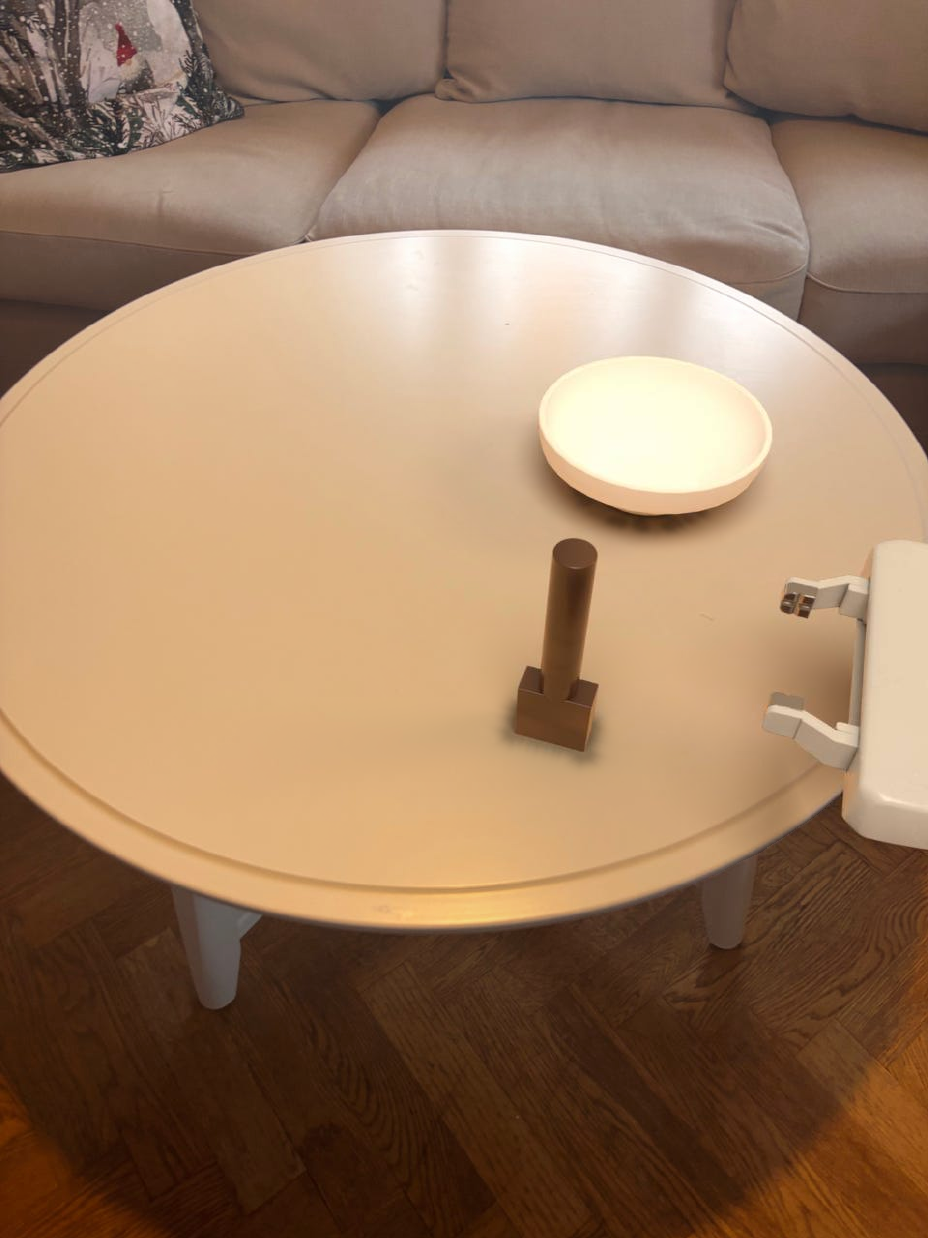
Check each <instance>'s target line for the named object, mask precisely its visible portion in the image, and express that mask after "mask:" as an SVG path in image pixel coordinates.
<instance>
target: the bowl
mask: <svg viewBox="0 0 928 1238" xmlns="http://www.w3.org/2000/svg"><path fill="white" fill-rule="evenodd" d="M537 413H538V415H537V416H538V417H537V418H538V424H537V425H538V435H539V440H540V444H541V449H542V451H543V454H544V456H545V459H546V461H547V463H548V464H549V466H550V467H551V468H552V469H553V471H554V473H556V475H557V476H558V477H559V478H561V479H562V480H563V481H564V482H565V483H566V484H568V485H569V486H570V487H571V488H573V489H575V490H576V491H577V492H580V493H581V494H582V495H585V496H586V497H587V498H591V499H593V500H596V501H597V502H600V503H603V504H604V505H607V506H611V507H613V508H615V509H618V510H620V511H622V512H625V513H629V514H633V515H640V516H662V515H681V514H688V513H697V512H702V511H705V510H709V509H712V508H716V507H718V506H719V507H720V505H723V504H726V503H727V502H729V501H731V500H733V499H735V498H736V497H738V496H739V495H741V494H742V493H743V492H744V491H745V490H747V489H748V488H749V487H750V485H751V484H752V482H753V481H754V480H755V479H756V477H757V476H758V474H759V473H760V471H761V470H762V469H763V468H764V466H765V463H766V460H767V458H768V455H769V452H770V449H771V446H772V443H773V425H772V423H771V420H770V417H769V415H768V412H767V411H766V410H765V408H764V407H763V405H762V404H761V402H760V401H759V399H757V398H756V397H755V396H754V395H753V394H752V393H751V392H750V391H749V390H748V389H747V388H745V387H744V386H742V385H741V384H739V383H737V382H736V381H735V380H733V379H732V378H730V377H728V376H726V375H724V374H722V373H720V372H717V371H716V370H713V369H711V368H709V367H705V366H702V365H699V364H697V363H693V362H689V361H685V360H679V359H675V358H669V357H660V356H653V355H652V356H651V355H627V356H618V357H616V356H615V357H609V358H605V359H600V360H595V361H591V362H589V363H586V364H584V365H580V366H578V367H575V368H574V369H572V370H570V371H569V372H566V373H565V374H563V375H562V376H560V377H559V378H557V380H555V381H554V382H553V383H552V384H551V385H549V386H548V388H547V390H546V391H545V393H544V395H543V396H542V397H541V400H540V404H539V408H538V412H537Z"/></svg>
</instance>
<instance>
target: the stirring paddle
mask: <svg viewBox="0 0 928 1238" xmlns="http://www.w3.org/2000/svg"><path fill="white" fill-rule="evenodd" d="M598 558H599V555H598V550H597V548H596V546H594V544H593V543H591V542H589V541H588V540H585V539H582V538H579V537H569V538H563V539H561V540H560V541H558V542H557V543H555V545H554V546H553V548H552V552H551V563H550V571H549V582H548V592H547V602H546V611H545V620H544V630H543V640H542V649H541V650H542V651H541V662H540V667H539V668H538V667H535V666H531V665H526V667H525V669H524V671H523V674H522V677H521V680H520V682H519V685H518V687H517V693H516V694H517V695H516V696H517V697H516V706H515V707H516V709H515V720H514V721H515V722H514V734H516V735H519V736H522V737H527V738H530V739H534V740H537V741H541V742H544V743H549V744H552V745H555V746H560V747H563V748H566V749H570V750H574V751H577V752H581V753H585V751H586V747H587V745H588V741H589V737H590V735H591V731H592V727H593V720H594V715H595V709H596V704H597V698H598V692H599V687H600V685H599V683H597V682H593V681H589V680H585V679H581V672H582V666H583V665H582V664H583V658H584V652H585V646H586V638H587V632H588V626H589V625H588V624H589V619H590V611H591V604H592V598H593V591H594V585H595V578H596V570H597V564H598Z"/></svg>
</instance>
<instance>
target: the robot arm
mask: <svg viewBox="0 0 928 1238" xmlns="http://www.w3.org/2000/svg"><path fill="white" fill-rule="evenodd" d="M832 608H834V609H835V608H838V610H837V611H838V615H841V616H844V617H847V618H848V617H849V618H853V619H855V628H854V642H853V654H852V655H853V656H852V668H851V681H850V682H851V683H850V697H849V708H848V722H847V723H845V722H842V721H838V722H836V724H835V726H834V728H833V727H832V726H830V725H829V724H827V723H825V722H824V721H822V720H821V719H820V718H818V717H817V716H814V715H813V714H811V713H810V712H809V711H806V710H805V709H804V701H805V698H804V697H800V696H795V695H786V694H784V693H783V692H780V691H776V692H775V691H774V692H771V693H769V695H768V696H767V699H766V702H765V704H764V709H763V713H762V720H761V729H762V730H763V731H764V732H766V733H769V734H774V735H777V736H780V737H785V738H789V739H792V740H793V742H794V743H795V744H797V745H798V746H799V747H800V748H802V749H803V750H804V751H806V752H807V753H808V754H809V755H811V756H812V757H813V758H814V759H815V760H816V761H818V762H819V763H820V764H822V765H823V766H827V767H831V768H833V769H837V770H842V771H844V774H843V787H842V789H843V790H842V803H841V818H842V820H843V821H844V822H845V823H846V824H847V825H848V826H849V827H850V828H851V829H852V830H854V831H855V832H856V833H857V834H858V835H860V836H861V837H863V838H867V839H869V840H874V841H878V842H882V843H887V844H891V845H897V846H902V847H909V848H914V849H920V850H927V851H928V543H926V542H922V541H916V540H909V539H904V538H903V539H902V538H894V539H889V540H885V541H881V542H878V543H876V544H874V545H873V546H872V547H871V550H870V552H869V554H868V556H867V558H866V560H865V563H864V565H863V568H862V571H861V573H860V576H857V575H854V574H845V575H840V576H835V577H830V578H824V579H820V580H817V581H815V580H811V579H806V578H802V577H797V576H790V577H788V578H786V580H785V582H784V584H783V588H782V591H781V596H780V603H779V610H780V612H782V613H784V614H786V615H793V614H794V615H795V616H796V617H799V618H804V619H809V617H810V615H811V611H814V610H824V609H832Z"/></svg>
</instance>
